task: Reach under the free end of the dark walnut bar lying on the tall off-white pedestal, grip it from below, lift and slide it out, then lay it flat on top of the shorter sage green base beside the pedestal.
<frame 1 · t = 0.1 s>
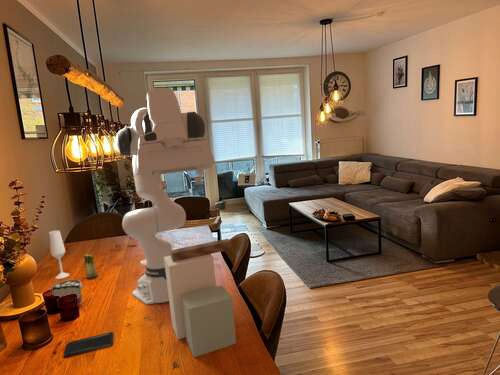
hand: (181, 186, 91), 54 cm above the table, tool tilted 30°, fingers open, 8 cm apart
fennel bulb: (92, 277, 177), on the table
medallion: (166, 259, 195), on the table
champagne flute: (62, 276, 181), on the table
white pedestal: (195, 326, 124), on the table
sage base: (211, 341, 114), on the table
food container: (72, 304, 149), on the table
walnut bar: (202, 253, 122), point 26 cm above the table, touching white pedestal
phone: (90, 346, 118), on the table
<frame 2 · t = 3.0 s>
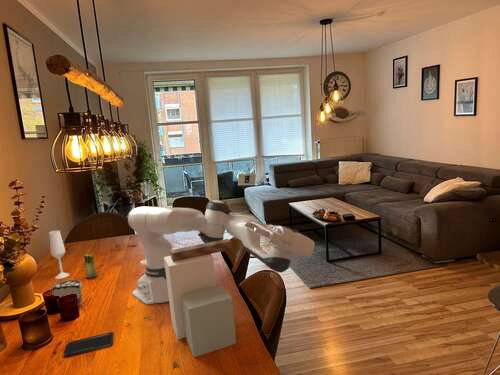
hand: (249, 226, 128), 33 cm above the table, tool pointing upward, fingers open, 8 cm apart
nothing on the table moved.
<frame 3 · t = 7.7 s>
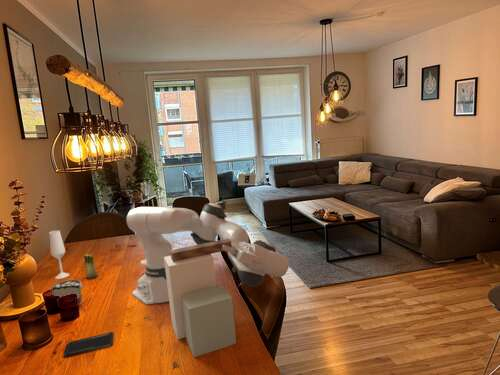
hand: (219, 244, 124), 28 cm above the table, tool pointing upward, fingers closed on walnut bar, 3 cm apart
walnut bar: (202, 253, 122), point 26 cm above the table, touching gripper, white pedestal
everything else where it was.
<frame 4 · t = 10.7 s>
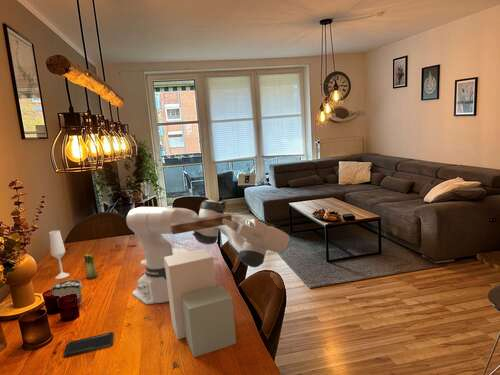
hand: (219, 218, 123), 37 cm above the table, tool pointing upward, fingers closed on walnut bar, 3 cm apart
walnut bar: (202, 227, 121), point 35 cm above the table, touching gripper
everything else where it was.
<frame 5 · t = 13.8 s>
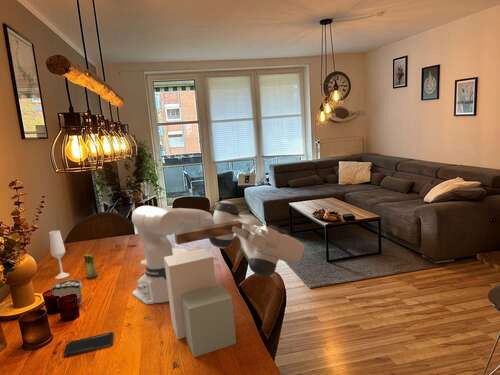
hand: (229, 226, 112), 37 cm above the table, tool pointing upward, fingers closed on walnut bar, 3 cm apart
walnut bar: (209, 236, 110), point 35 cm above the table, touching gripper
everything else where it was.
when the fingers open (20 cm above the table, at t = 19.9 s): walnut bar drops 2 cm, resting on sage base.
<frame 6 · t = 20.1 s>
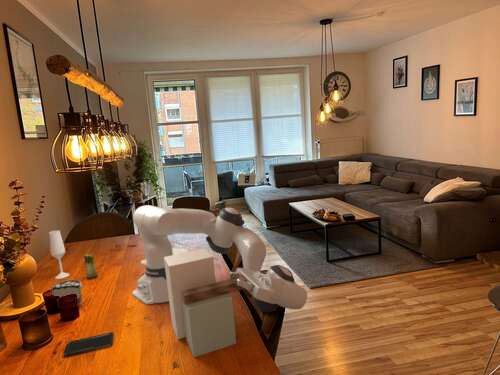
hand: (233, 277, 115), 20 cm above the table, tool pointing upward, fingers open, 5 cm apart
walnut bar: (215, 294, 113), point 16 cm above the table, touching sage base
everything else where it was.
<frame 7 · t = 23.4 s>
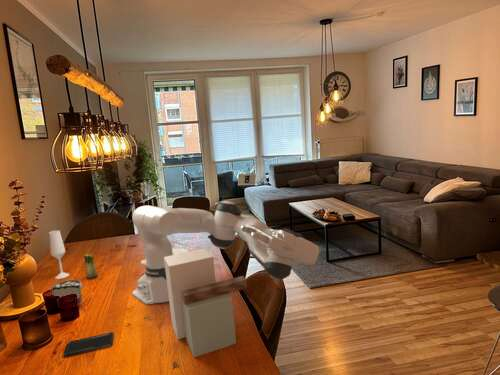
hand: (246, 230, 115), 35 cm above the table, tool pointing upward, fingers open, 8 cm apart
nothing on the table moved.
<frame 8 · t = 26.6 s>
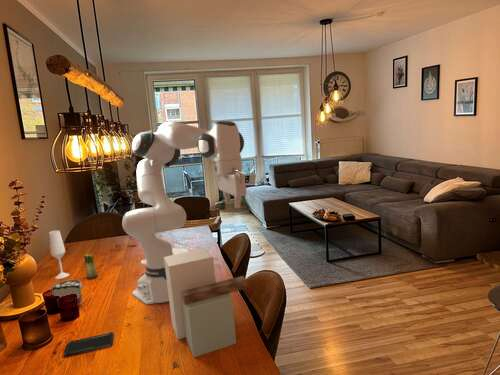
hand: (232, 205, 126), 41 cm above the table, tool pointing down, fingers open, 8 cm apart
nothing on the table moved.
at the end: walnut bar inside the target area (0.2 cm from its centre), point 16.0 cm above the table; walnut bar touching sage base; the gripper is holding nothing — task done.
